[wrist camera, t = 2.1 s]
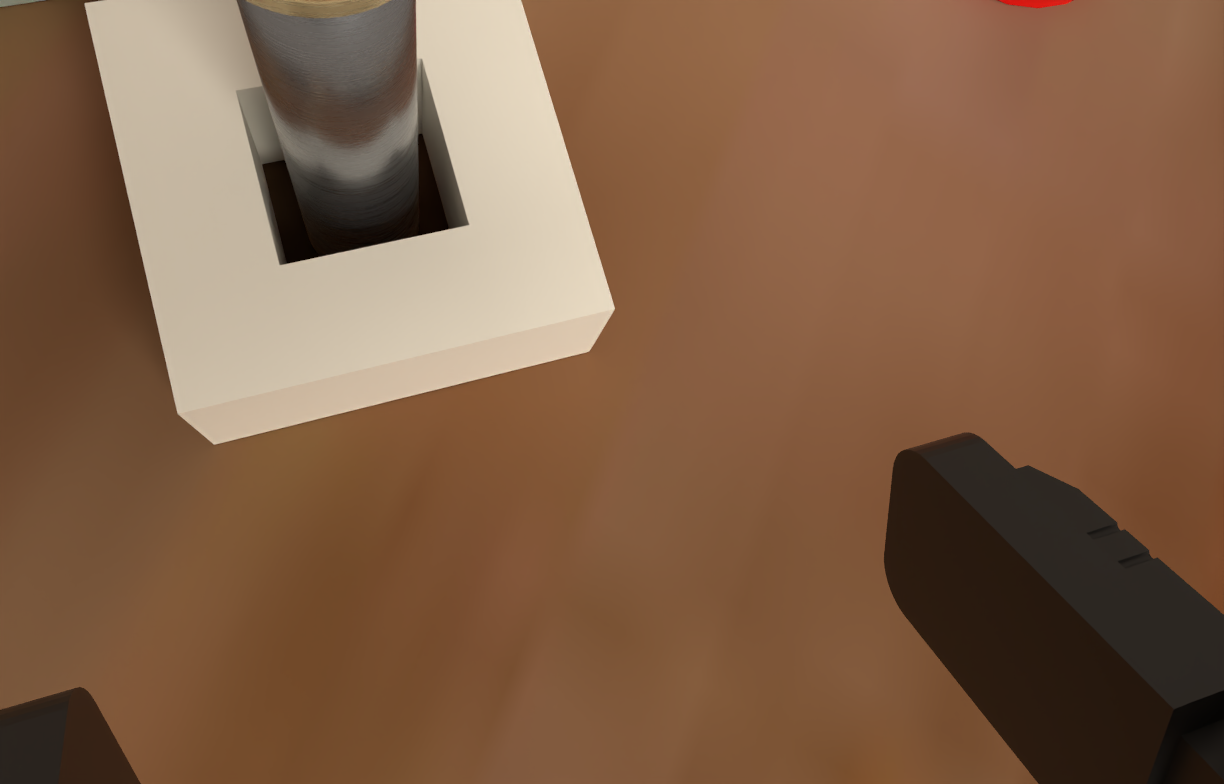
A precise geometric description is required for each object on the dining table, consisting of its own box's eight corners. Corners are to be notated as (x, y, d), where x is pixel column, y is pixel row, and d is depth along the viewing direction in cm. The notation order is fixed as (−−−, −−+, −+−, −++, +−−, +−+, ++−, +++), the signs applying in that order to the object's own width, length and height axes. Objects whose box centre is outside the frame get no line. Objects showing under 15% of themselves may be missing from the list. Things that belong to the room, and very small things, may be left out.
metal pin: (306, 307, 27) (188, -2, 14) (271, 169, 28) (126, -255, 14) (454, 274, 28) (480, -47, 15) (416, 141, 29) (409, -283, 15)
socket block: (214, 444, 26) (177, 413, 22) (132, 89, 28) (84, 3, 24) (589, 351, 28) (614, 309, 24) (492, 28, 30) (502, -60, 26)
